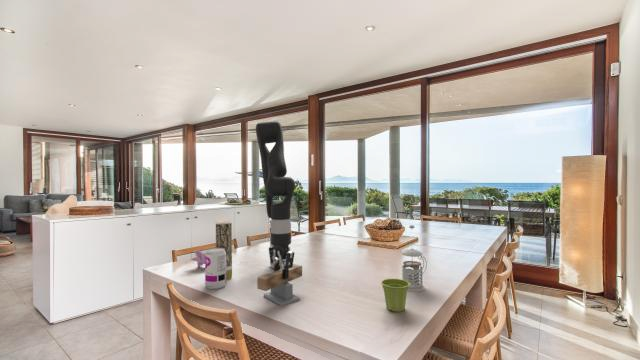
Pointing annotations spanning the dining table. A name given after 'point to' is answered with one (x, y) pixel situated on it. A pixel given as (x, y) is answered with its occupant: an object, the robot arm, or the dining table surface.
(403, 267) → the french press
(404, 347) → the dining table surface
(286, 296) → the ridge
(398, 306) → the plant pot
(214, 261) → the supplement can
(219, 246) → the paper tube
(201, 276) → the dining table surface
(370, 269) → the dining table surface
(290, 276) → the batten
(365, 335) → the dining table surface
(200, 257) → the lily
